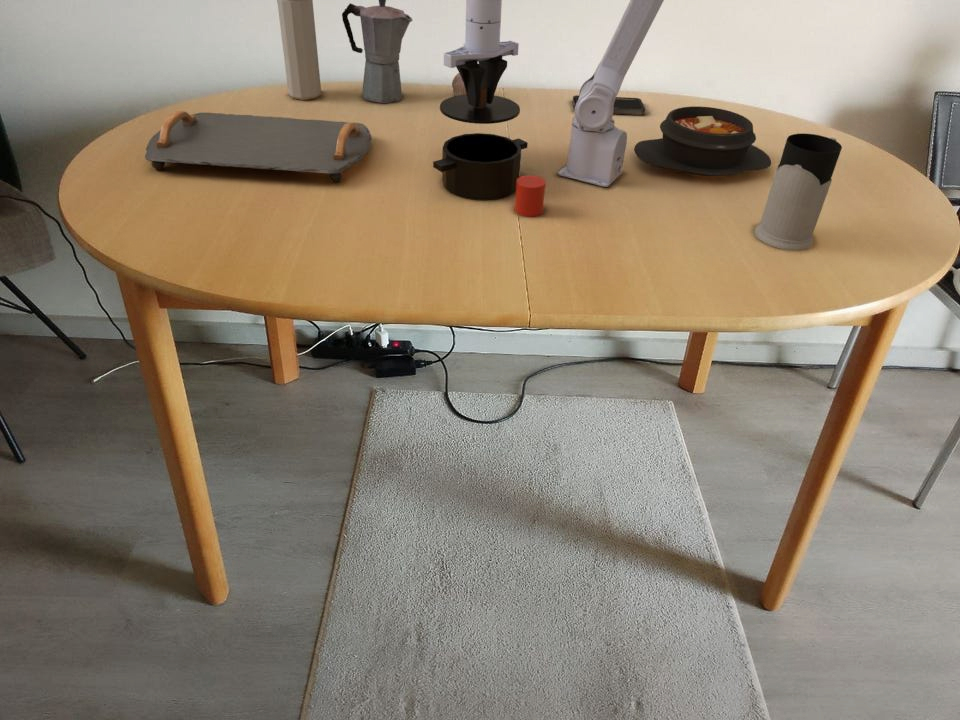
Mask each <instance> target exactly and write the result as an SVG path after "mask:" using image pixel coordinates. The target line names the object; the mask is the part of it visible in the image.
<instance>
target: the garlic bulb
mask: <svg viewBox="0 0 960 720" xmlns="http://www.w3.org/2000/svg"><path fill="white" fill-rule="evenodd" d="M451 87H452V92H453V94H454V96H457V95H464V94H466V90H465V86H464V83H463V80H462V78H461V75H460V73H459V72H458V73H457V74H456V75H455V76H454V77H453V78H452V82H451Z"/></svg>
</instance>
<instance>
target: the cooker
mask: <svg viewBox="0 0 960 720" xmlns="http://www.w3.org/2000/svg"><path fill="white" fill-rule="evenodd" d="M528 145H529V143H528V141H526V140H523V139H521V138H514V139H511V138H509V137H507V136H502V135H500V134H499V135H498V134H494V133H483V132H482V133H481V132H476V133H464V134H460V135H456V136H452V137H450V138H449V139H447V140H446V141H444V143H443V145H442V153H441V154H442V158H441V159H437V160H434V161H432V167H433V168H434V169H435V170H438V171H439V172H441V180H442V185H443V188H444V189H445V190H446V191H448V193H450V194H452V195H454V196H457V197H459V198H463V199H468V200H475V201H492V200H500V199H504V198H507V197H509V196H511V195H514V194H515V193H516V180H517V179H518V178H519V177H521V176H520V175H521V174H520V173H521V163H522V150H525V149H528Z"/></svg>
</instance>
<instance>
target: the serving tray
mask: <svg viewBox="0 0 960 720" xmlns="http://www.w3.org/2000/svg"><path fill="white" fill-rule="evenodd" d="M372 138H373V136H372V134H371V132H370V130H369V128H368V126H366V125H365V124H364V123H360V122H352V121H351V122H349V121H333V120H325V119H324V120H323V119H302V118H293V117H283V116H264V115H263V116H262V115H261V116H260V115H252V114H233V113H229V114H227V113H222V112H221V113H220V112H219V113H217V112H198V113H197V112H196V113H193V114H189V112H187V111H185V110H177V111H175V112H172V113H171V114H170V115H169V116H167V117H166V118H165V120H164V121H163V123H162V125H161V128H160V129H159V131H157V132H156V133H155V134H153V135H152V137H151V138H150V139H149V141H148V143H147V145H146V147H145V155H144V158H145V160H146V161H147V162H150V164H151V166H152V167H153V169H154V170H155V171H162V170H165V169H164V168H165V165H166V163H173V164H188V165H189V164H190V165H200V166H201V165H202V166H215V167H217V166H218V167H230V168H231V167H232V168H240V169H241V168H244V169H257V170H259V169H260V170H271V171H272V170H273V171H288V172H300V173H301V172H302V173H314V174H316V173H317V174H328V177H329V179H330V181H331V182H332V183H333V184H339V183H341V181H342V179H343V174H342V172H344V171H346V170H348V169H350V168H352V166H354V165H356V164H357V163H358V162H360V161H361V160H362V158H363V157H365V155H366V154H367V153H368V152H369V151H370V150H371V147H372Z"/></svg>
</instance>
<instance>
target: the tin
mask: <svg viewBox="0 0 960 720" xmlns="http://www.w3.org/2000/svg"><path fill="white" fill-rule="evenodd" d="M545 194H546V180H545V179H544V178H542V177H540V176H539V175H538V176H537V175H529V174H527V175H522V176H519V178H518V179H517V180H516V192H515V195H514V196H515V198H514V212H515V213H516V214H518V215H520V216H523V217H528V218H531V217H538V216H540V215H542V214H543V212H544V204H545Z"/></svg>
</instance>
